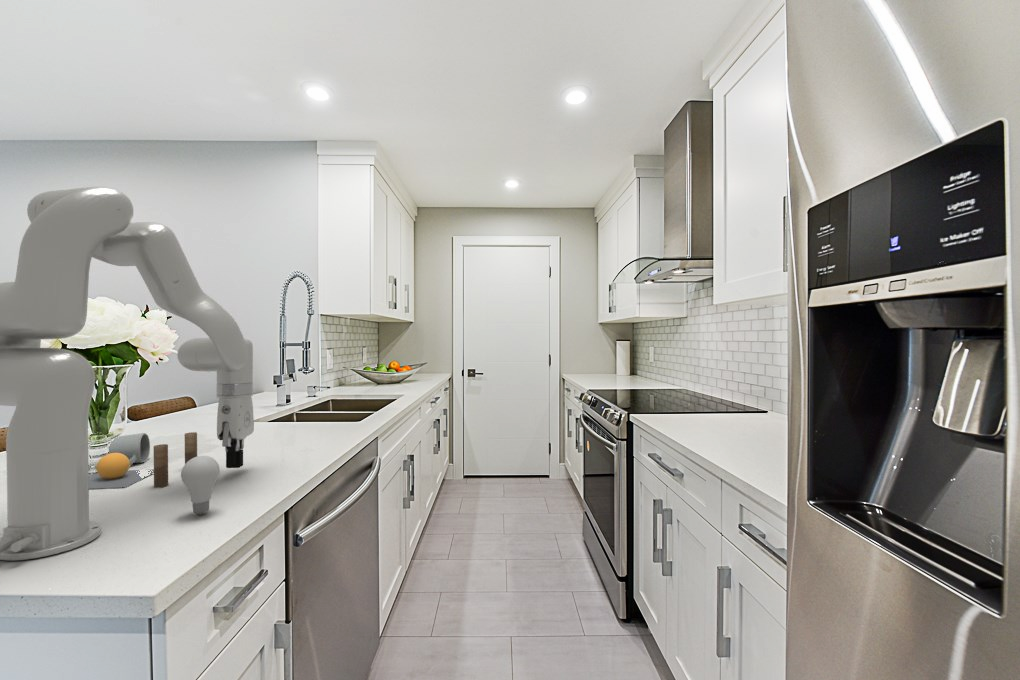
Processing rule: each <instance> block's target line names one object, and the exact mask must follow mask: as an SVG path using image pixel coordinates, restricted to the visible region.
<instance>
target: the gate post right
mask: <svg viewBox="0 0 1020 680" xmlns="http://www.w3.org/2000/svg"><path fill="white" fill-rule="evenodd" d="M194 457H198V432H197V431H193V432H185V433H184V465H185V464H186V463H187V462H188V461H189V460H191V459H192V458H194Z"/></svg>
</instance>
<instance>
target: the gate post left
mask: <svg viewBox="0 0 1020 680" xmlns="http://www.w3.org/2000/svg"><path fill="white" fill-rule="evenodd" d="M153 469H154V474H153V488H155V487H161V488H164V487H163V486H165V487H168V486H169V445H168V444H167V443H166V444H165V443H163V444H156V445H154V446H153ZM167 485H168V486H167Z"/></svg>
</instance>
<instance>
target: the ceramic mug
mask: <svg viewBox="0 0 1020 680" xmlns="http://www.w3.org/2000/svg"><path fill="white" fill-rule="evenodd" d="M118 436H119V435H118ZM116 437H117V436H116ZM150 443H151V442H150V437H149V435H148V434H147V433H145V432H142V433H135V434H134V433H133V434H127V435H126V434H125V435H120V436H119V437H117V438H115V439H114V440H113V441H112V442H111V444H110V446H109V454H110V453H121V454H124V455H125V456H127V457H128V459H129V461H130V466H132V465H134V464H133V463H136V464H144V463H143V462H145V461H146V462H147V461H148V460H149V457H150V453H151V444H150ZM146 462H145V463H146ZM130 466H129V467H130Z"/></svg>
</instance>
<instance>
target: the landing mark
mask: <svg viewBox="0 0 1020 680" xmlns="http://www.w3.org/2000/svg"><path fill="white" fill-rule="evenodd" d="M139 470H140V469H133V470H131V469H130V470H129V469H128V471H127V472H126V473H125V474H124V475H123V476H121V477H119V478H116V479H105V478H103V477H101V476H100V475H99V474H94V473H92V474H90V475H89V490H102V489H101V488H113V489H123V488H122V487H126V488H128V487H129V485H130V486H132V485H134V484H136V483H138V482H140V481H142V480H143V479H142V478H141V477H140V476H139V474H140V473H138V471H139ZM149 470H150V471H151V470H152V471H153V472H152V471H151V473H150V474H152V473H154V468H153V469H149ZM136 471H137V472H136ZM150 471H148V472H150ZM139 472H140V471H139ZM137 473H138V474H137ZM148 474H149V473H148ZM152 475H153V474H152ZM144 477H145V476H144ZM141 479H142V480H141ZM139 480H140V481H139ZM137 481H138V482H137ZM135 482H136V483H135ZM133 483H134V484H133ZM131 484H132V485H131ZM127 486H128V487H127Z"/></svg>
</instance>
